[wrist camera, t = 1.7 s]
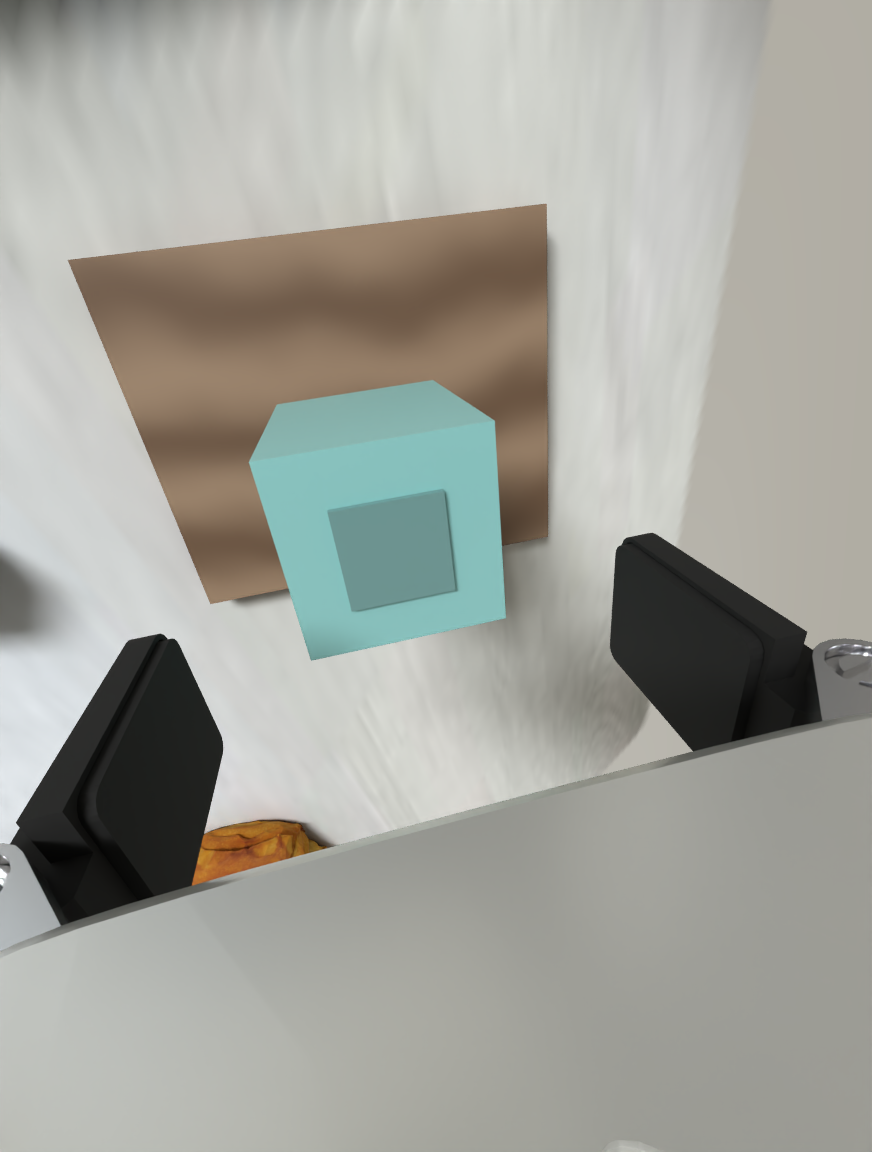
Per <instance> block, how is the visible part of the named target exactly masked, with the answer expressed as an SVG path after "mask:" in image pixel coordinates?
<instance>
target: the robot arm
mask: <svg viewBox="0 0 872 1152" xmlns="http://www.w3.org/2000/svg"><path fill="white" fill-rule="evenodd" d="M806 635H807V631H805V630H803V629H802V628H800V627H799V626H797V625H796V624H794V623H792V622H791V621H790V620H788V619H786V618H785V617H783V616H782V615H780V614H779V613H777V612H776V611H774V610H773V609H771V608H769V607H768V606H766V605H765V604H763V603H762V602H760V601H759V600H757V599H755V598H754V597H752V596H751V595H749V594H748V593H746V592H744V591H743V590H742V589H740V588H738V587H737V586H735V585H734V584H732V583H730V582H729V581H728V580H726V579H724V578H723V577H721V576H720V575H718V574H716V573H715V572H713V571H712V570H711V569H709V568H707V567H706V566H704V565H703V564H701V563H699V562H698V561H696V560H695V559H693V558H692V557H690V556H689V555H687V554H686V553H684V552H683V551H681V550H680V549H678V548H676V547H675V546H673V545H672V544H670V543H669V542H667V541H666V540H664V539H662V538H661V537H659V536H658V535H656V534H654V533H648V534H643V535H638V536H633V537H628V538H626V539H625V540H624V541H623V543H622V545H621V546H619V547H618V548H617V550H616V556H615V573H614V589H613V605H612V621H611V637H610V648H611V652H612V655H613V657H614V659H615V661H616V662H617V663H618V664H619V665H620V667H621V668H622V669H623V670H624V671H625V672H626V674H627V675H628V676H629V677H630V678H631V679H632V681H633V682H634V683H635V684H636V685H637V686H638V688H639V689H640V690H641V691H642V692H643V693H644V695H645V696H646V697H647V698H648V699H649V700H650V702H651V703H652V704H653V705H654V706H655V707H656V709H657V710H658V711H659V712H660V713H661V714H662V716H663V717H664V718H665V719H666V720H667V721H668V723H669V724H670V725H671V726H672V727H673V728H674V729H675V731H676V732H677V733H678V734H679V735H680V737H681V738H682V739H683V740H684V741H685V742H686V743H687V745H688V746H689V747H690V748H691V749H692V751H693V752H689V753H686V754H682V755H678V756H674V757H670V758H666V759H663V760H659V761H655V762H651V763H647V764H643V765H640V766H636V767H632V768H628V769H624V770H620V771H616V772H613V773H609V774H604V775H601V776H597V777H593V778H589V779H585V780H581V781H577V782H574V783H570V784H566V785H562V786H558V787H555V788H551V789H547V790H543V791H540V792H536V793H532V794H528V795H524V796H521V797H517V798H513V799H509V800H505V801H502V802H498V803H494V804H490V805H487V806H483V807H479V808H475V809H472V810H468V811H464V812H460V813H456V814H453V815H449V816H445V817H441V818H438V819H434V820H430V821H426V822H423V823H419V824H415V825H411V826H408V827H404V828H400V829H396V830H393V831H389V832H385V833H382V834H378V835H374V836H371V837H367V838H363V839H359V840H356V841H352V842H348V843H345V844H341V845H337V846H334V847H330V848H326V849H323V850H319V851H315V852H311V853H308V854H304V855H300V856H297V857H293V858H289V859H286V860H282V861H278V862H275V863H271V864H267V865H264V866H260V867H256V868H252V869H249V870H245V871H241V872H238V873H234V874H231V875H227V876H224V877H220V878H217V879H213V880H210V881H206V882H203V883H199V884H196V885H193V886H192V882H193V878H194V874H195V869H196V865H197V861H198V857H199V852H200V848H201V844H202V840H203V835H204V831H205V827H206V823H207V818H208V814H209V810H210V806H211V801H212V797H213V793H214V789H215V784H216V780H217V776H218V772H219V767H220V763H221V759H222V755H223V741H222V737H221V734H220V732H219V730H218V728H217V725H216V723H215V721H214V719H213V717H212V715H211V713H210V710H209V708H208V706H207V704H206V702H205V700H204V697H203V695H202V693H201V691H200V689H199V687H198V685H197V682H196V680H195V678H194V676H193V674H192V672H191V669H190V667H189V665H188V663H187V661H186V659H185V657H184V654H183V652H182V650H181V648H180V646H179V644H178V642H177V641H176V640H175V639H167V638H166V637H165V636H164V635H163V634H157V635H152V636H147V637H142V638H137V639H132V640H129V641H128V642H127V643H126V644H125V646H124V648H123V649H122V651H121V652H120V654H119V656H118V657H117V659H116V661H115V662H114V664H113V665H112V667H111V669H110V670H109V672H108V674H107V675H106V677H105V678H104V680H103V682H102V683H101V685H100V687H99V688H98V690H97V691H96V693H95V695H94V696H93V698H92V700H91V701H90V703H89V705H88V706H87V708H86V709H85V711H84V713H83V714H82V716H81V718H80V719H79V721H78V722H77V724H76V726H75V727H74V729H73V731H72V732H71V734H70V735H69V737H68V739H67V740H66V742H65V744H64V745H63V747H62V748H61V750H60V752H59V753H58V755H57V757H56V758H55V760H54V761H53V763H52V765H51V766H50V768H49V770H48V771H47V773H46V775H45V776H44V778H43V779H42V781H41V783H40V784H39V786H38V788H37V789H36V791H35V792H34V794H33V796H32V797H31V799H30V801H29V802H28V804H27V805H26V807H25V809H24V810H23V812H22V814H21V815H20V817H19V818H18V820H17V822H16V824H17V825H18V826H19V827H20V828H19V830H18V832H17V833H16V835H15V837H14V838H13V840H12V842H11V843H10V844H4V843H2V844H0V1152H872V642H868V641H863V640H855V639H832V640H828V641H825V642H822V643H820V644H818V645H817V646H816V647H815V648H814V649H813V650H812V649H810V648H809V647H807V646H806V645H804V641H805V638H806Z"/></svg>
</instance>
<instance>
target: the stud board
mask: <svg viewBox="0 0 872 1152" xmlns="http://www.w3.org/2000/svg"><path fill="white" fill-rule="evenodd" d="M68 262H69V264H70V266H71V269H72V271H73V274H74V276H75V279H76V281H77V283H78V286H79V288H80V291H81V293H82V295H83V298H84V300H85V303H86V305H87V307H88V310H89V312H90V315H91V317H92V319H93V322H94V324H95V327H96V329H97V332H98V334H99V336H100V339H101V341H102V344H103V346H104V348H105V351H106V353H107V356H108V358H109V360H110V363H111V365H112V368H113V370H114V373H115V375H116V377H117V380H118V382H119V385H120V387H121V389H122V392H123V394H124V397H125V399H126V401H127V404H128V406H129V409H130V411H131V413H132V416H133V418H134V421H135V423H136V426H137V428H138V430H139V433H140V435H141V438H142V440H143V442H144V445H145V447H146V450H147V452H148V454H149V457H150V459H151V462H152V464H153V467H154V469H155V471H156V474H157V476H158V479H159V481H160V483H161V486H162V488H163V491H164V493H165V495H166V498H167V500H168V503H169V505H170V507H171V510H172V512H173V515H174V517H175V520H176V522H177V524H178V527H179V529H180V532H181V534H182V536H183V539H184V541H185V544H186V546H187V548H188V551H189V553H190V556H191V558H192V561H193V563H194V565H195V568H196V570H197V573H198V575H199V577H200V580H201V582H202V585H203V587H204V589H205V592H206V594H207V597H208V599H209V601H210V604H213V603H218V602H223V601H228V600H233V599H238V598H243V597H248V596H253V595H258V594H263V593H268V592H273V591H278V590H283V589H288V585H287V582H286V579H285V576H284V573H283V569H282V566H281V563H280V560H279V557H278V553H277V550H276V547H275V544H274V541H273V538H272V534H271V531H270V528H269V525H268V522H267V518H266V515H265V512H264V509H263V506H262V503H261V499H260V496H259V493H258V490H257V487H256V483H255V480H254V477H253V474H252V471H251V468H250V464H249V461H250V459H251V457H252V455H253V453H254V450H255V448H256V446H257V444H258V442H259V440H260V438H261V436H262V434H263V432H264V430H265V428H266V426H267V424H268V422H269V420H270V417H271V415H272V413H273V411H274V409H275V407H276V405H277V404H283V403H289V402H296V401H302V400H309V399H315V398H321V397H328V396H334V395H340V394H347V393H353V392H360V391H366V390H372V389H379V388H385V387H391V386H398V385H404V384H411V383H417V382H423V381H430V380H434V381H435V382H437V383H438V384H440V385H441V386H443V387H444V388H446V389H447V390H449V391H450V392H452V393H453V394H455V395H456V396H458V397H459V398H461V399H463V400H464V401H466V402H467V403H469V404H470V405H472V406H473V407H475V408H476V409H478V410H479V411H481V412H482V413H484V414H485V415H487V416H488V417H490V418H491V419H493V420H494V421H495V435H496V453H497V470H498V488H499V506H500V523H501V541H502V546H503V545H508V544H513V543H518V542H523V541H528V540H533V539H538V538H543V537H548V425H547V204H540V205H532V206H523V207H515V208H506V209H498V210H489V211H481V212H472V213H464V214H455V215H447V216H438V217H430V218H421V219H413V220H404V221H396V222H387V223H379V224H370V225H362V226H353V227H345V228H336V229H328V230H319V231H311V232H302V233H294V234H285V235H277V236H268V237H260V238H251V239H243V240H234V241H226V242H217V243H209V244H200V245H192V246H183V247H175V248H166V249H158V250H149V251H141V252H132V253H124V254H115V255H107V256H98V257H90V258H81V259H73V260H68Z"/></svg>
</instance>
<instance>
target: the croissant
mask: <svg viewBox="0 0 872 1152" xmlns="http://www.w3.org/2000/svg"><path fill="white" fill-rule="evenodd" d="M326 848H327V847H326V846H323V847H321V846H318V844H317V843H316V842H315V841H313V840H310V839H308V838H307V836H306V834H305V830H304V829H303V828H302V825H300V824H299V823H295V824H293V823H286V822H281V821H261V822H260V821H255V822H249V823H241V824H234V825H231V826H227V827H223V828H220V829H217V830H214V831H211V832H208V833H206V834H205V835H203V840H202V844H201V848H200V852H199V857H198V861H197V865H196V869H195V874H194V878H193V882H192V886H193V885H196V884H199V883H203V882H206V881H210V880H213V879H217V878H220V877H224V876H227V875H231V874H234V873H238V872H241V871H245V870H249V869H252V868H256V867H260V866H264V865H267V864H271V863H275V862H278V861H282V860H286V859H289V858H293V857H297V856H300V855H304V854H308V853H311V852H315V851H319V850H323V849H326Z"/></svg>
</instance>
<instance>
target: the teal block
mask: <svg viewBox="0 0 872 1152" xmlns="http://www.w3.org/2000/svg"><path fill="white" fill-rule="evenodd" d="M249 464H250V468H251V471H252V474H253V477H254V480H255V483H256V487H257V490H258V493H259V496H260V499H261V503H262V506H263V509H264V512H265V515H266V518H267V522H268V525H269V528H270V531H271V534H272V538H273V541H274V544H275V547H276V550H277V553H278V557H279V560H280V563H281V566H282V569H283V573H284V576H285V579H286V582H287V585H288V588H289V592H290V595H291V598H292V601H293V604H294V608H295V611H296V614H297V617H298V620H299V623H300V627H301V630H302V633H303V636H304V639H305V643H306V646H307V649H308V652H309V655H310V659H311V661H312V660H316V659H321V658H325V657H330V656H335V655H339V654H344V653H348V652H353V651H358V650H362V649H367V648H371V647H376V646H381V645H385V644H390V643H394V642H399V641H404V640H408V639H413V638H417V637H422V636H426V635H431V634H436V633H440V632H445V631H449V630H454V629H459V628H463V627H468V626H472V625H477V624H482V623H486V622H491V621H495V620H500V619H504V618H506V612H505V594H504V576H503V559H502V541H501V523H500V506H499V488H498V470H497V453H496V435H495V421H494V420H493V419H491V418H490V417H488V416H487V415H485V414H484V413H482V412H481V411H479V410H478V409H476V408H475V407H473V406H472V405H470V404H469V403H467V402H466V401H464V400H463V399H461V398H459V397H458V396H456V395H455V394H453V393H452V392H450V391H449V390H447V389H446V388H444V387H443V386H441V385H440V384H438V383H437V382H435V381H434V380H430V381H423V382H417V383H411V384H404V385H398V386H391V387H385V388H379V389H372V390H366V391H360V392H353V393H347V394H340V395H334V396H328V397H321V398H315V399H309V400H302V401H296V402H289V403H283V404H277V405H276V407H275V409H274V411H273V413H272V415H271V417H270V420H269V422H268V424H267V426H266V428H265V430H264V432H263V434H262V436H261V438H260V440H259V442H258V444H257V446H256V448H255V450H254V453H253V455H252V457H251V459H250V461H249Z"/></svg>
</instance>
